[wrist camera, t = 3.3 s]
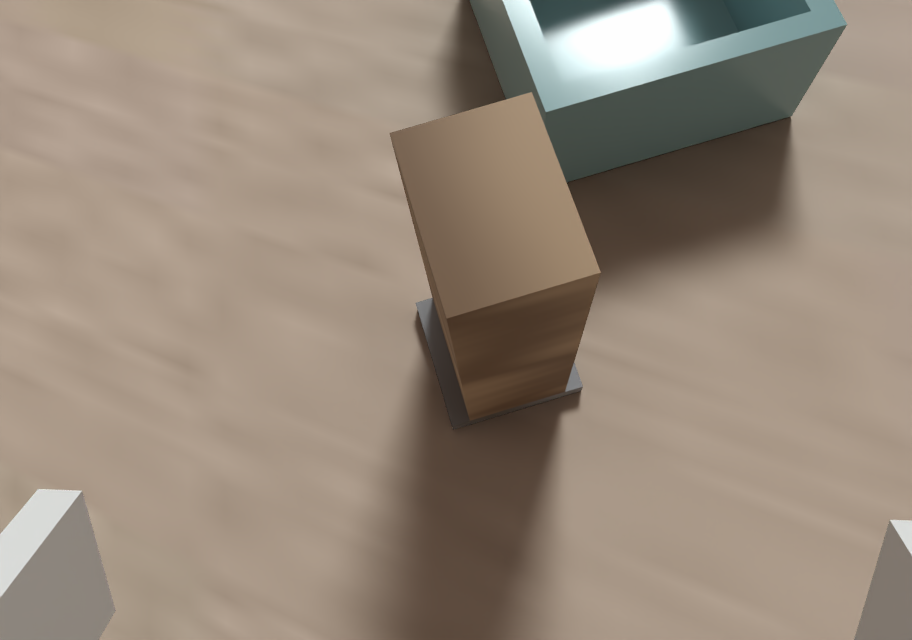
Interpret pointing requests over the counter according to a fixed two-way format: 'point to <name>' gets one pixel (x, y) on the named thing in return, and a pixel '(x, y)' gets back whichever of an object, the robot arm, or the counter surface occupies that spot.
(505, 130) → the wooden post on plate
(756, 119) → the teal storage bin
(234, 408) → the counter surface
